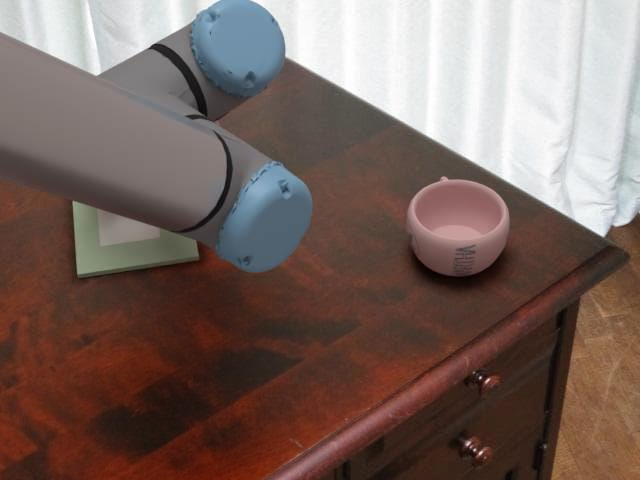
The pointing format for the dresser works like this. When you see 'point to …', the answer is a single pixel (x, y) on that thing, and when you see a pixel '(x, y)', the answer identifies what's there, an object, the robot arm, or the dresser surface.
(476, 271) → the mug
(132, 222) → the chalk board
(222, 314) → the dresser surface
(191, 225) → the robot arm
